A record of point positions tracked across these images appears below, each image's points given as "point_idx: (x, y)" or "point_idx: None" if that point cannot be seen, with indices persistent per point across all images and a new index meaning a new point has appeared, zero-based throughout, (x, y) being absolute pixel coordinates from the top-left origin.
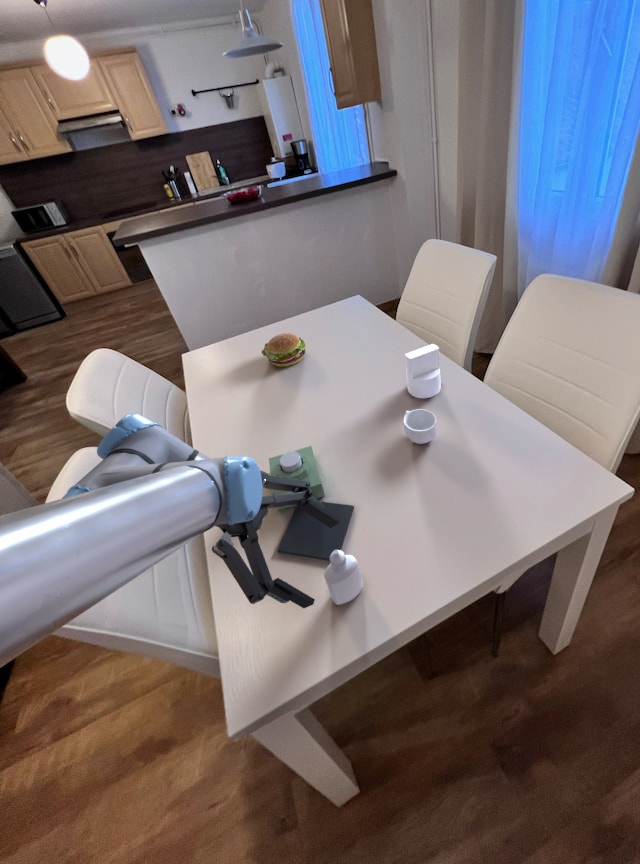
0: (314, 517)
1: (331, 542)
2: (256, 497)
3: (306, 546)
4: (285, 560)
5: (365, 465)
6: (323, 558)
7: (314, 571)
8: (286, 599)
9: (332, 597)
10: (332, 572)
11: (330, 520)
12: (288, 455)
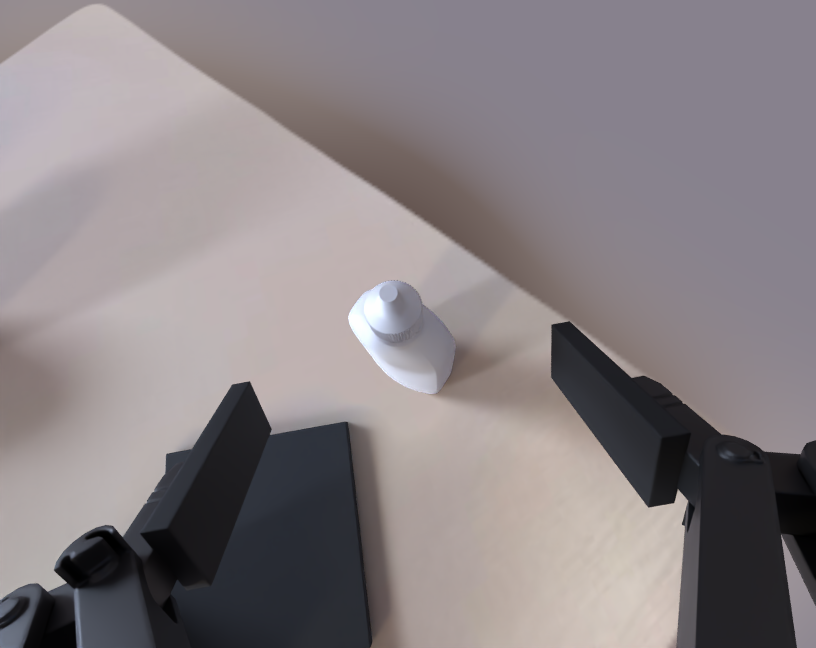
0: (244, 496)
1: (298, 464)
2: None
3: (329, 540)
4: (389, 592)
5: (7, 488)
6: (350, 464)
7: (391, 474)
8: (655, 384)
9: (448, 374)
10: (429, 335)
11: (246, 417)
12: None
